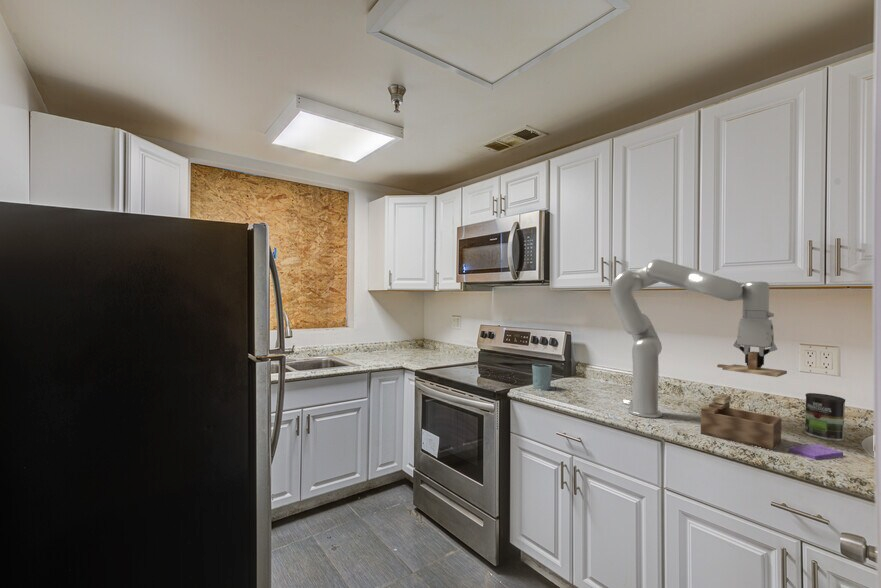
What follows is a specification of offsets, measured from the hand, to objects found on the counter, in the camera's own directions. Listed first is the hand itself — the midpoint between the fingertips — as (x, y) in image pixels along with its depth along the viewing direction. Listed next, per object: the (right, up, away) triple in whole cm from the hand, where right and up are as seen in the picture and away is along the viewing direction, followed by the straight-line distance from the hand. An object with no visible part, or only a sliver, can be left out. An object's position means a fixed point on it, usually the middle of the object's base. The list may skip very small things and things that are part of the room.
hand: (754, 365), depth 146 cm
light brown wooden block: (-8, -15, +6) cm, 18 cm away
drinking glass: (-61, -23, +63) cm, 91 cm away
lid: (-1, -2, +1) cm, 3 cm away
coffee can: (+23, -25, -2) cm, 34 cm away
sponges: (+4, -25, -20) cm, 32 cm away
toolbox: (-8, -24, -4) cm, 25 cm away
